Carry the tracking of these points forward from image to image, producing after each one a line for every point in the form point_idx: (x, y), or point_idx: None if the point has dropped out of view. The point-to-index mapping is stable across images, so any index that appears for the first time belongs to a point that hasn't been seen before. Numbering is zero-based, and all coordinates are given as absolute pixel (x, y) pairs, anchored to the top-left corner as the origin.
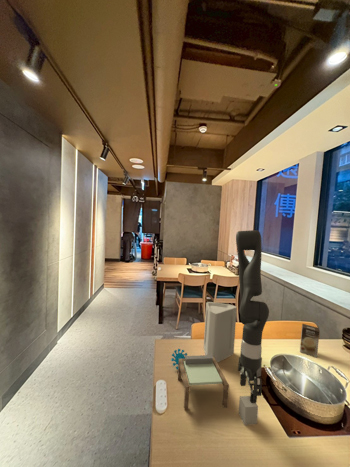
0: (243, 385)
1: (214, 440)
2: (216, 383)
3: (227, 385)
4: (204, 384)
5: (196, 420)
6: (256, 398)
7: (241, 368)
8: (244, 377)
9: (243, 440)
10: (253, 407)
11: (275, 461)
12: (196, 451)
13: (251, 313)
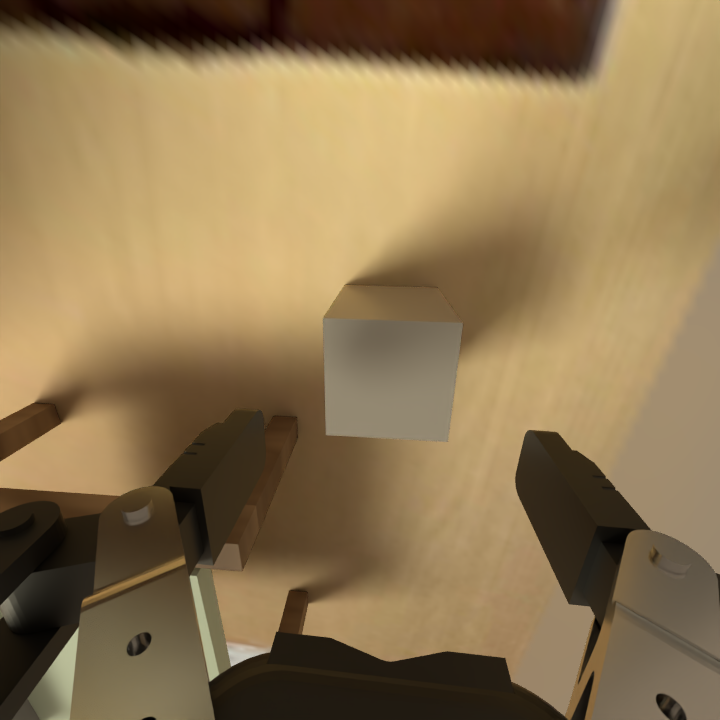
0: (262, 436)
1: (476, 543)
2: (213, 598)
3: (241, 546)
4: (228, 661)
5: (365, 577)
6: (620, 502)
7: (18, 610)
8: (209, 513)
9: (514, 421)
10: (456, 367)
11: (681, 308)
12: (501, 611)
13: None
